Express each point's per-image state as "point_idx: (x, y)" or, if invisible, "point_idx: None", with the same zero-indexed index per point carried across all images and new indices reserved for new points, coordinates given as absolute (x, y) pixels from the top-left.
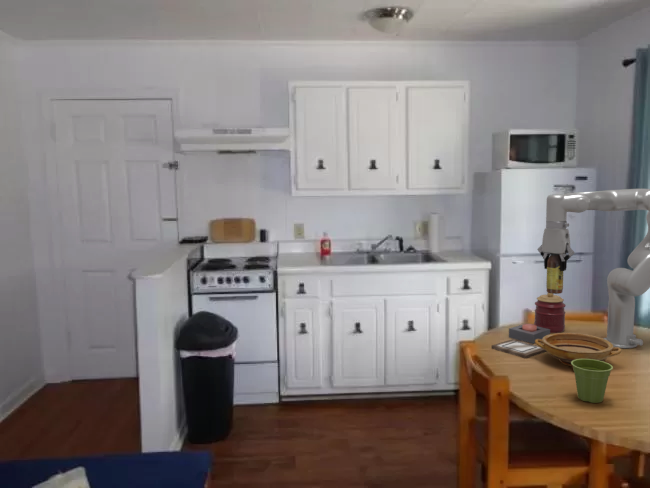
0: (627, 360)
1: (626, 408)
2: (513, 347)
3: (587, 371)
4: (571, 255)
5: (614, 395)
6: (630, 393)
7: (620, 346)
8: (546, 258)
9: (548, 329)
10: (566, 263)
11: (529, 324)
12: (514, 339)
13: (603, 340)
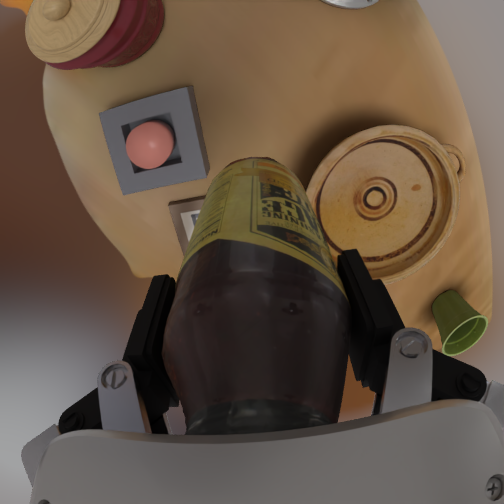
0: (429, 86)
1: (478, 287)
2: None
3: (462, 348)
4: (494, 396)
5: (464, 268)
6: (477, 245)
7: (371, 4)
8: (163, 403)
9: (184, 92)
10: (398, 316)
11: (137, 137)
12: (173, 204)
13: (426, 145)
